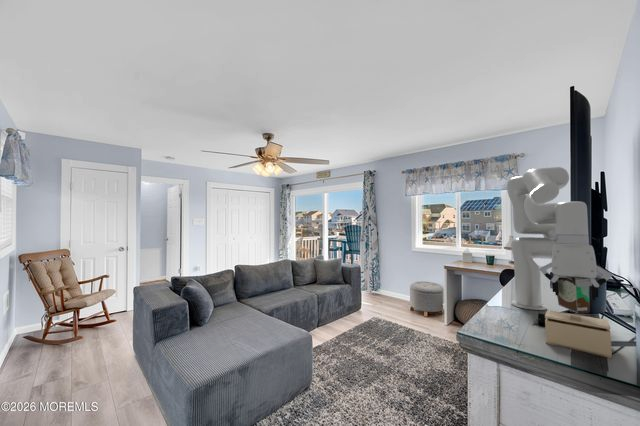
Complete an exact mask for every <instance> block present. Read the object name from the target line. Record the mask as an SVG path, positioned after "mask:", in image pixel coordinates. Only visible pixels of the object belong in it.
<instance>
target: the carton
mask: <svg viewBox="0 0 640 426" xmlns="http://www.w3.org/2000/svg"><path fill="white" fill-rule="evenodd" d="M544 329H545V344H548V345H552V346H557V347H561V348H565V349H568V350H569V349H570V350H574V351H578V352H583V353H587V354H590V355H595V356H600V357H604V358H608V359H613V354H612V353H613V352H612V337H611V329H605V328H599V327H594V326H588V325H583V324H577V323H572V322H566V321H560V320H555V319H549V318H546V319H545V327H544Z"/></svg>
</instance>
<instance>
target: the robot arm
mask: <svg viewBox="0 0 640 426" xmlns="http://www.w3.org/2000/svg"><path fill="white" fill-rule="evenodd" d="M569 181H570V174H569V172H568V171H567V169H565V168H564V167H561V166H560V167H559V166H553V167H537V168H532V169H528V170H526V172H524V174H523V175H520V176H514V177H511V178H510V179H509V180H508V181H507V184H506V191H507V195H508V197H509V198H508V199H510V203H511V204H512V205H511V206H512V217H513V218H512V220H513V228H514V231H515V232H516V233H517V234H521V235H542V236H543V237H535V236H534V237H531V236H526V237H525V236H523V237H521V236H520V237H516V238H514V239H512V241H511V242H510V248H511V252H512V257H513V266H514V267H513V268H514V270H513V271H514V290H515V292H514V293H515V294H514V295H515V296H514V297H515V299H514V300H511V305H513V306H514V307H517V308H520V309H526V310H532V311H533V310H534V311H545V310H547V305H545V304H543V302H542V282H541V281H542V279H541V273H542V275H544V277H546V278H547V279H548V280H549V281H550V282H551V284H552V292H553V293H554V294H555V296H556V297H557V296H558V295H559V286H558V282H557V279H558V278H559V277H560V276H563V277H574V278H584V279H589V280H590V281H591V283H592V286H590V291H591V295H590V296H591V300H592V301H596V298H599V287H600V286H602V285H603V284H605V283H607V281H609V280H610V278H612V277H613V274H612V273H611V272H609V271H608V270H606V269H604V268H602V267H600V266H599V265H597V259H596V254H595V249H594V247H593V245H590V244H589V243H590V240H589V222H588V221H589V219H588V206H587V204H586V202H584V201H562V202H561V201H560V202H557V203H556V202H553V203H550V202H551V201H553V200H554V199H556V198H557V197H558V196H559V194H560V190H561V189H563V188H565V187H566V186H567V185H568V183H569ZM534 259H548V260H549V259H551V262H549V263H546V264H545V265H544V266H541V267H540V266H539V265H538V263H536V261H534ZM548 269H551V272H552V274H553V275H552V274H551V273H549V272H548ZM598 272H599V273H600V274H601V275H603V276H602V277H600V278H599V279H596V278H597V277H598Z"/></svg>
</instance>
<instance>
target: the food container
mask: <svg viewBox="0 0 640 426" xmlns="http://www.w3.org/2000/svg"><path fill="white" fill-rule="evenodd" d="M557 282H558V286H559V295H558V296H557V295H556V298H557V305H558V306H560V307H562V308H564V309H567V310H570V311H572V312H573V313H576V314H588V313H590V312H591V309H590V305H591V304H590V303H591V302H590V287H591V286H592V283H591V281H590V280H589V279H584V278H574V277H563V276H560V277H559V278H558V279H557Z"/></svg>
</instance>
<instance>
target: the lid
mask: <svg viewBox="0 0 640 426" xmlns="http://www.w3.org/2000/svg"><path fill="white" fill-rule="evenodd" d="M546 310H547V311H545V312H546V315H545V318H549V319H555V320H560V321H566V322H572V323H577V324H583V325H588V326H594V327H599V328H605V329H609V330H611V326H610V324H609V321H608V319H604V318H596V317H591V316H585V315H581V314H577V313H576V314H575V313H568V312H562V311H554V310H549V309H546Z"/></svg>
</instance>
